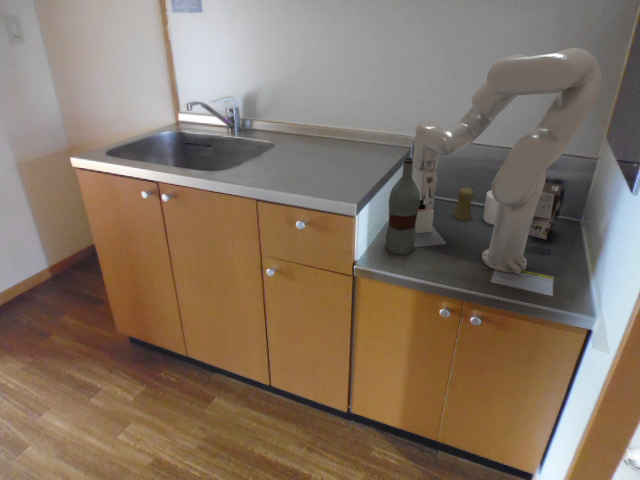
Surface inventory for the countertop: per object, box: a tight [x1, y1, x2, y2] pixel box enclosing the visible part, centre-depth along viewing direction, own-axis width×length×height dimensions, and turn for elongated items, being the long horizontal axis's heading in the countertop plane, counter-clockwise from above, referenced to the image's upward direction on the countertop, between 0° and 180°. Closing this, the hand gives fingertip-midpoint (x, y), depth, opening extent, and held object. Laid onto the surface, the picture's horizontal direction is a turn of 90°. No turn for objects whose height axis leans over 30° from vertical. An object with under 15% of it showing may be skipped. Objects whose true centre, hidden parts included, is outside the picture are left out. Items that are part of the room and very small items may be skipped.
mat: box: [413, 225, 447, 248], centre depth 147 cm, size 14×11×1 cm
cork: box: [453, 187, 475, 221], centre depth 155 cm, size 6×6×11 cm
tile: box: [415, 208, 435, 233], centre depth 147 cm, size 2×7×8 cm, turn 99°
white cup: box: [482, 189, 499, 226], centre depth 154 cm, size 8×8×10 cm
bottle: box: [385, 156, 420, 256], centre depth 133 cm, size 9×9×30 cm
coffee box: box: [528, 181, 563, 240], centre depth 145 cm, size 9×6×16 cm
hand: (419, 214), depth 149 cm, fingers closed
